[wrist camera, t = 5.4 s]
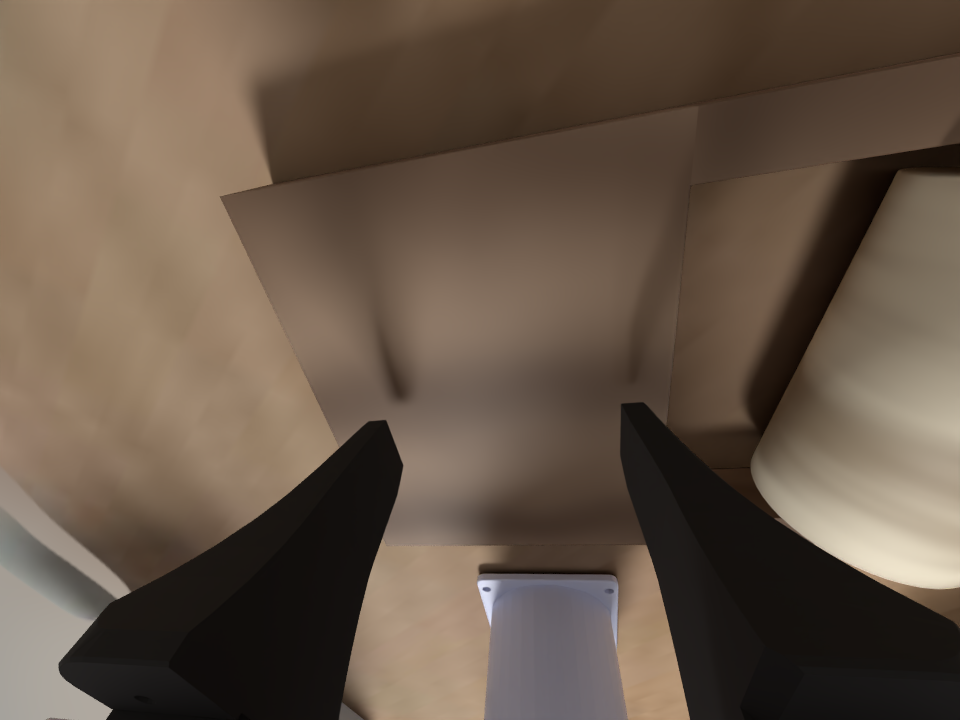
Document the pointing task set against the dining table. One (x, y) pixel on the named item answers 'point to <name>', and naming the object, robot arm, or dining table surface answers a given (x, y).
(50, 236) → the dining table surface
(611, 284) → the board
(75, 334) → the dining table surface
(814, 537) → the roller
